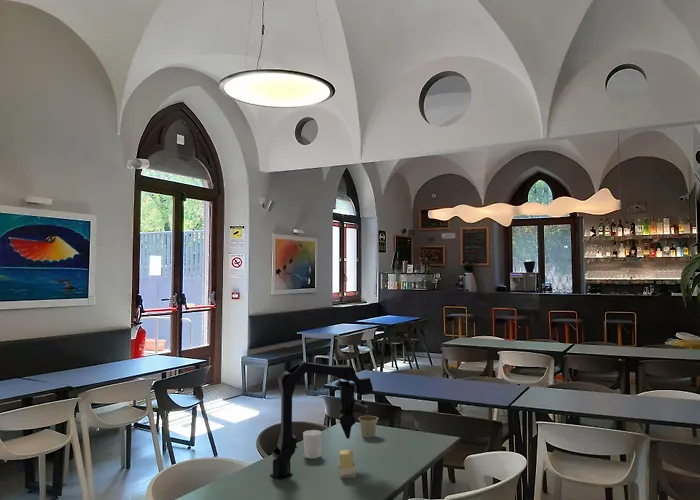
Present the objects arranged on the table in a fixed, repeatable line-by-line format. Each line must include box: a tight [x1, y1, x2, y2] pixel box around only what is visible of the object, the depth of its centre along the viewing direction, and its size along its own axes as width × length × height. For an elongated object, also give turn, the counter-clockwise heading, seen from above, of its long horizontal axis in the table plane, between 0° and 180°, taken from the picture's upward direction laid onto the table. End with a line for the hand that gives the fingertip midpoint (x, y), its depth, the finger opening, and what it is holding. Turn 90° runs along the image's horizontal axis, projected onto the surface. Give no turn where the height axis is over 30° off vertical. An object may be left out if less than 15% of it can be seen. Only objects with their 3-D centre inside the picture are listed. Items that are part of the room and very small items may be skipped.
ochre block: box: [339, 449, 354, 468], centre depth 216 cm, size 5×5×5 cm
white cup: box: [302, 429, 322, 460], centre depth 239 cm, size 8×8×10 cm
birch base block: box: [338, 461, 357, 479], centre depth 216 cm, size 6×6×4 cm
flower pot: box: [358, 415, 379, 439], centre depth 266 cm, size 9×9×9 cm
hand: (347, 435), depth 226 cm, fingers open, 9 cm apart
